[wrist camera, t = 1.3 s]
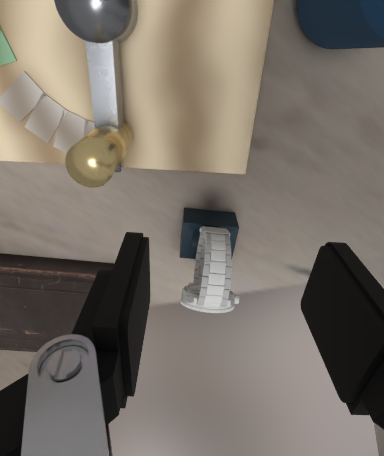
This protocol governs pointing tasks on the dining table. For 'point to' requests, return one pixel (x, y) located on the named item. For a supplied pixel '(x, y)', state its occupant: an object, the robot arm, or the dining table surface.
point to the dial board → (138, 83)
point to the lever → (101, 85)
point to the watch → (209, 259)
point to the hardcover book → (41, 298)
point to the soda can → (343, 23)
